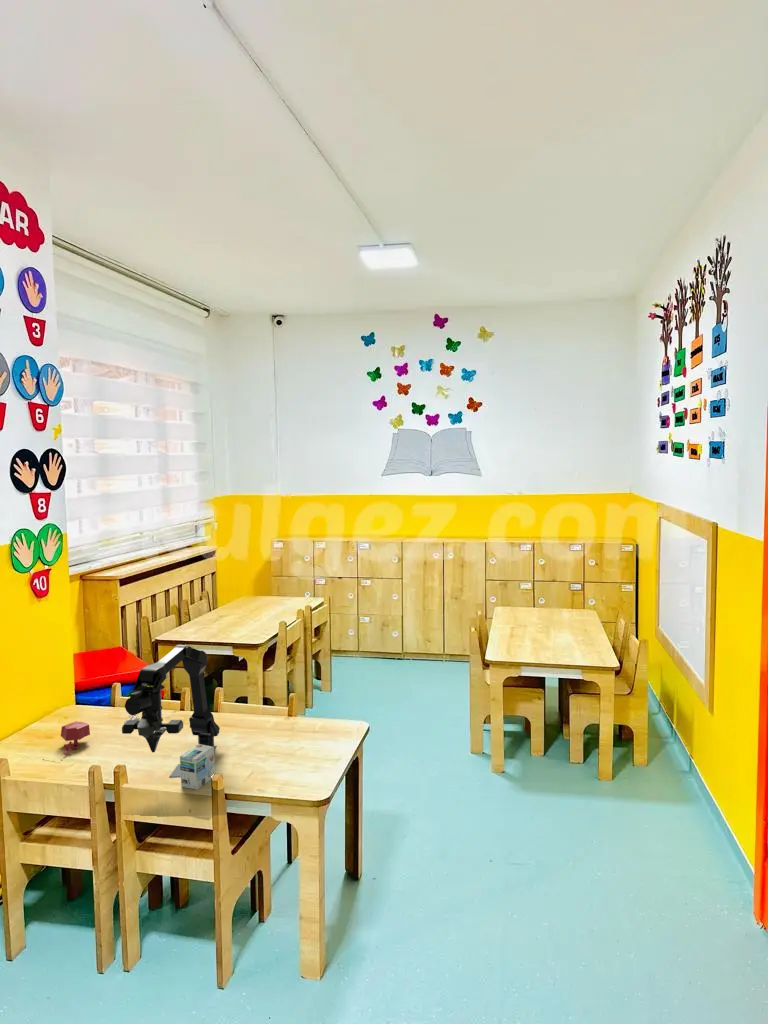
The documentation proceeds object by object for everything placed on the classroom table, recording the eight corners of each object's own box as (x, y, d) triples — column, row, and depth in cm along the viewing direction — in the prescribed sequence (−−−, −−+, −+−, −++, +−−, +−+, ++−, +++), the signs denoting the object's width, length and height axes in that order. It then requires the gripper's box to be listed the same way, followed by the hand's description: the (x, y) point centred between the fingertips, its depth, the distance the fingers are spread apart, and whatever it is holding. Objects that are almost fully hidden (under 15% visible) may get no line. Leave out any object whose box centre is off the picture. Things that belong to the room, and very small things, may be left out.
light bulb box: (197, 790, 242) (195, 759, 241) (180, 787, 245) (178, 756, 243) (215, 776, 252) (214, 746, 251) (199, 773, 254) (198, 743, 253)
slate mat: (178, 765, 263) (178, 763, 263) (234, 764, 263) (234, 763, 263) (169, 777, 252) (169, 776, 252) (227, 777, 252) (227, 776, 252)
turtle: (105, 745, 284) (104, 722, 284) (63, 764, 266) (62, 740, 265) (76, 740, 290) (76, 717, 290) (33, 758, 272) (32, 734, 272)
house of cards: (145, 719, 313) (145, 701, 313) (147, 726, 305) (146, 707, 305) (123, 722, 310) (122, 704, 309) (124, 729, 302) (123, 710, 301)
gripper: (114, 713, 235) (116, 761, 236) (173, 713, 235) (174, 761, 236) (127, 702, 246) (128, 748, 247) (183, 702, 246) (184, 748, 247)
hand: (153, 752), depth 244 cm, fingers closed
